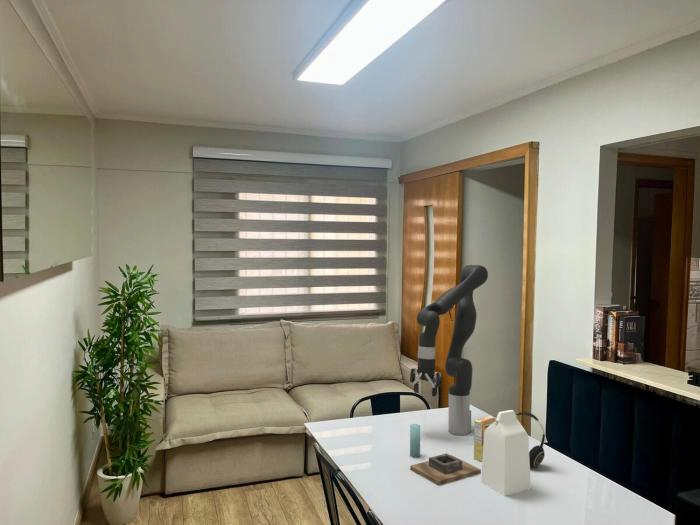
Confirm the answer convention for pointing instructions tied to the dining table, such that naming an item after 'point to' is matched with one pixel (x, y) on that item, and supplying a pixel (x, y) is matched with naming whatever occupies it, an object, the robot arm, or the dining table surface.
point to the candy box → (480, 435)
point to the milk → (506, 455)
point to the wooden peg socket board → (445, 469)
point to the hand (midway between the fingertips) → (425, 394)
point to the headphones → (536, 452)
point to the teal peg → (414, 440)
